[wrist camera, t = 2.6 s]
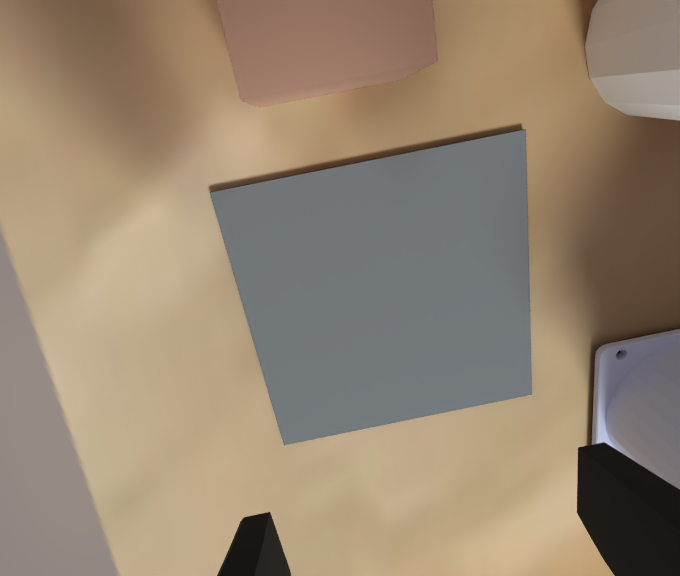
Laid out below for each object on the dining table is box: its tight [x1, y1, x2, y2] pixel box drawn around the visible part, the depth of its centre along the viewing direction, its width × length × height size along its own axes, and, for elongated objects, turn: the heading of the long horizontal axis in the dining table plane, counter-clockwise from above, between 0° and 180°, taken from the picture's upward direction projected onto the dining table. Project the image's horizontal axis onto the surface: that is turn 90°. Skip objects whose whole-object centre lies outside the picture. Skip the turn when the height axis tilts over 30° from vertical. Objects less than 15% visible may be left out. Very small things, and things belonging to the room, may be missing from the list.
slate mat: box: [210, 130, 532, 445], centre depth 18 cm, size 12×12×1 cm
